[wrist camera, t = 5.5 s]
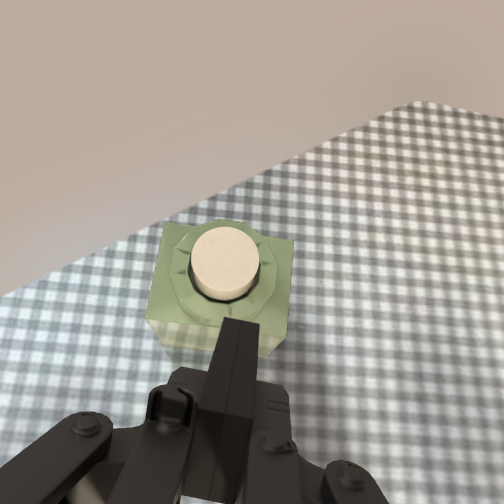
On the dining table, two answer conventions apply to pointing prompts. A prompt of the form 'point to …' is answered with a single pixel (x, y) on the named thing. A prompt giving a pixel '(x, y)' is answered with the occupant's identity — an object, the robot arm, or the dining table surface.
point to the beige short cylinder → (224, 263)
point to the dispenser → (210, 310)
